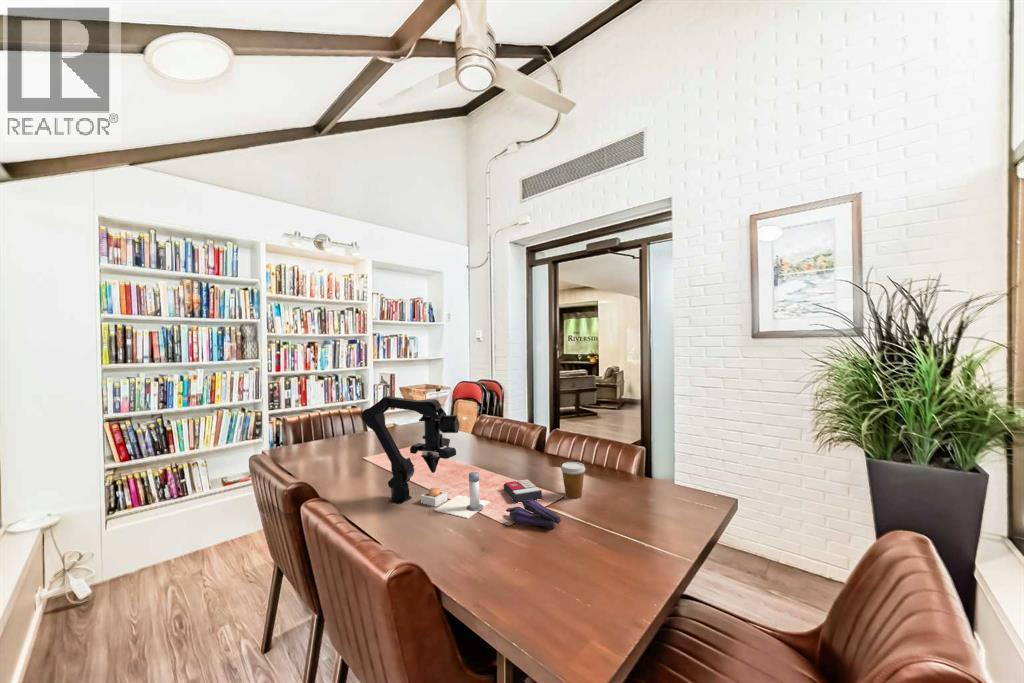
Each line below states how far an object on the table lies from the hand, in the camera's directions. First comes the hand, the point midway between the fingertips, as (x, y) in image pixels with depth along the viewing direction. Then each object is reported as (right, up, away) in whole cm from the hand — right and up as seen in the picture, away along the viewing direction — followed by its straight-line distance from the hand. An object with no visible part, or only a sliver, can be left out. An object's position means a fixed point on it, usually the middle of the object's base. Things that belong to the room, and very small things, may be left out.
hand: (433, 472), depth 157 cm
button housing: (0, -11, 0) cm, 11 cm away
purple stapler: (+37, -11, -19) cm, 43 cm away
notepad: (+12, -11, -5) cm, 17 cm away
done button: (0, -9, 0) cm, 9 cm away
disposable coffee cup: (+55, -10, +2) cm, 56 cm away
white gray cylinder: (+17, -11, -7) cm, 21 cm away
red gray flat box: (+35, -11, +5) cm, 37 cm away
